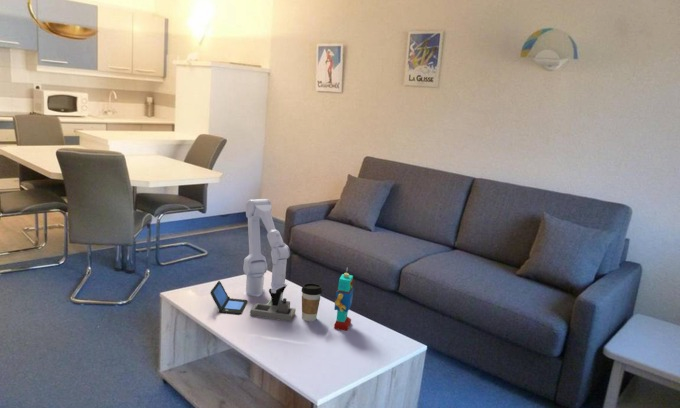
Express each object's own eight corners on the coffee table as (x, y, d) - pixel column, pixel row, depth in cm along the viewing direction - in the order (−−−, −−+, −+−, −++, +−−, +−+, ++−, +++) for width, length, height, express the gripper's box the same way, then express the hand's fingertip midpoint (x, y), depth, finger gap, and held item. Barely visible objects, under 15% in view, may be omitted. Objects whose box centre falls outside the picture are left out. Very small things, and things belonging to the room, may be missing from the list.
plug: (273, 304, 228) (274, 287, 227) (281, 305, 228) (283, 288, 226) (270, 307, 224) (271, 290, 223) (279, 308, 224) (280, 292, 222)
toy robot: (346, 332, 208) (352, 272, 204) (331, 329, 209) (337, 270, 205) (351, 321, 220) (357, 264, 215) (337, 319, 221) (343, 262, 216)
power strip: (255, 309, 222) (256, 302, 222) (294, 315, 220) (295, 308, 219) (250, 316, 214) (250, 309, 214) (290, 322, 212) (290, 315, 212)
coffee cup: (310, 325, 211) (313, 290, 209) (294, 319, 216) (297, 284, 214) (323, 320, 218) (326, 286, 215) (307, 313, 223) (310, 280, 220)
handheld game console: (240, 316, 214) (242, 295, 212) (208, 313, 214) (209, 292, 212) (248, 302, 229) (249, 282, 228) (217, 299, 229) (218, 279, 227)
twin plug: (279, 313, 219) (281, 296, 217) (289, 315, 218) (290, 297, 217) (277, 317, 215) (278, 299, 213) (286, 318, 214) (288, 301, 213)
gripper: (283, 280, 216) (281, 310, 218) (291, 269, 230) (289, 298, 232) (267, 277, 216) (264, 308, 219) (276, 267, 231) (274, 296, 233)
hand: (276, 303), depth 226 cm, fingers closed on plug, 4 cm apart
